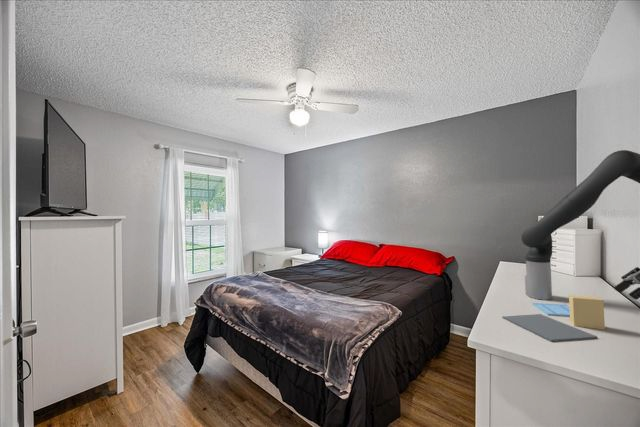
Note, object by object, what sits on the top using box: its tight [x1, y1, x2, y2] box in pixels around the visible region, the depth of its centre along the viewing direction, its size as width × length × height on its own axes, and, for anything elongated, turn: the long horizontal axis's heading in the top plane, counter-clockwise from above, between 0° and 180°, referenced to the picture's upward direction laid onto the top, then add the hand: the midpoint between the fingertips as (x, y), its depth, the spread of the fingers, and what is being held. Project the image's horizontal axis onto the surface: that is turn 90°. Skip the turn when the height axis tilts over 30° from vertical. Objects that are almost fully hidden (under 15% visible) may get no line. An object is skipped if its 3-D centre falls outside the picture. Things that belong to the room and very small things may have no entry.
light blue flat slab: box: [531, 302, 570, 318], centre depth 109 cm, size 14×12×1 cm
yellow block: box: [568, 294, 606, 330], centre depth 94 cm, size 8×4×10 cm, turn 65°
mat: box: [501, 313, 598, 342], centre depth 94 cm, size 20×16×1 cm
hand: (624, 293), depth 90 cm, fingers open, 8 cm apart
